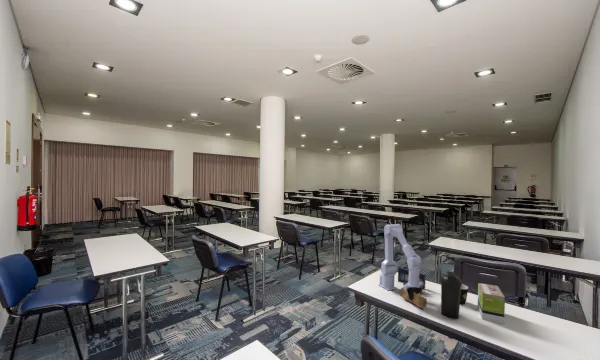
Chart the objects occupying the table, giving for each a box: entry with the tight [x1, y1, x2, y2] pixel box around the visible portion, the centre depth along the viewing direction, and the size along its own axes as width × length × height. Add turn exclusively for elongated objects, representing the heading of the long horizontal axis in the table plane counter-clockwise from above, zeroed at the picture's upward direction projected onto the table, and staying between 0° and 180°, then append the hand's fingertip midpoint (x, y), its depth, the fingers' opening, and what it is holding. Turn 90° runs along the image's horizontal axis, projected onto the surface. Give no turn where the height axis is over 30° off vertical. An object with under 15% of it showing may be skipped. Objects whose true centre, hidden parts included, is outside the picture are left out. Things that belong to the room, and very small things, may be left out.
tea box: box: [477, 282, 506, 324], centre depth 145 cm, size 15×10×15 cm, turn 154°
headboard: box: [402, 279, 424, 295], centre depth 169 cm, size 5×15×7 cm, turn 115°
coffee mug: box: [460, 283, 469, 306], centre depth 159 cm, size 12×9×10 cm
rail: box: [400, 287, 428, 309], centre depth 155 cm, size 16×3×5 cm, turn 25°
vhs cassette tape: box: [397, 266, 427, 291], centre depth 182 cm, size 18×3×10 cm, turn 43°
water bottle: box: [440, 271, 463, 320], centre depth 144 cm, size 10×10×23 cm
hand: (413, 298), depth 155 cm, fingers closed on rail, 3 cm apart
